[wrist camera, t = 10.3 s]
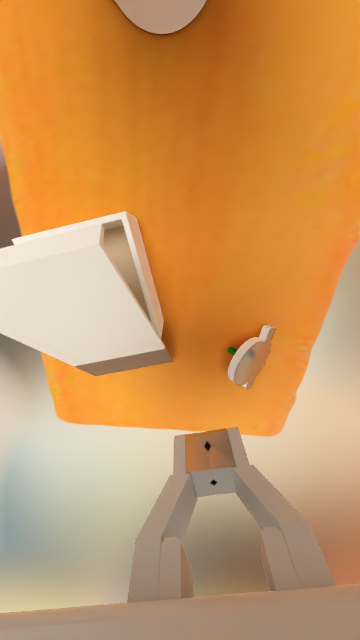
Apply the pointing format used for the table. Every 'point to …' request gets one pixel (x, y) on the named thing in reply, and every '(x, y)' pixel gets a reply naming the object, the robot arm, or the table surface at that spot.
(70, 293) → the lid
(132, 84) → the table surface
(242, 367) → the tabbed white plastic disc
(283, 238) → the table surface
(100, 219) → the box
